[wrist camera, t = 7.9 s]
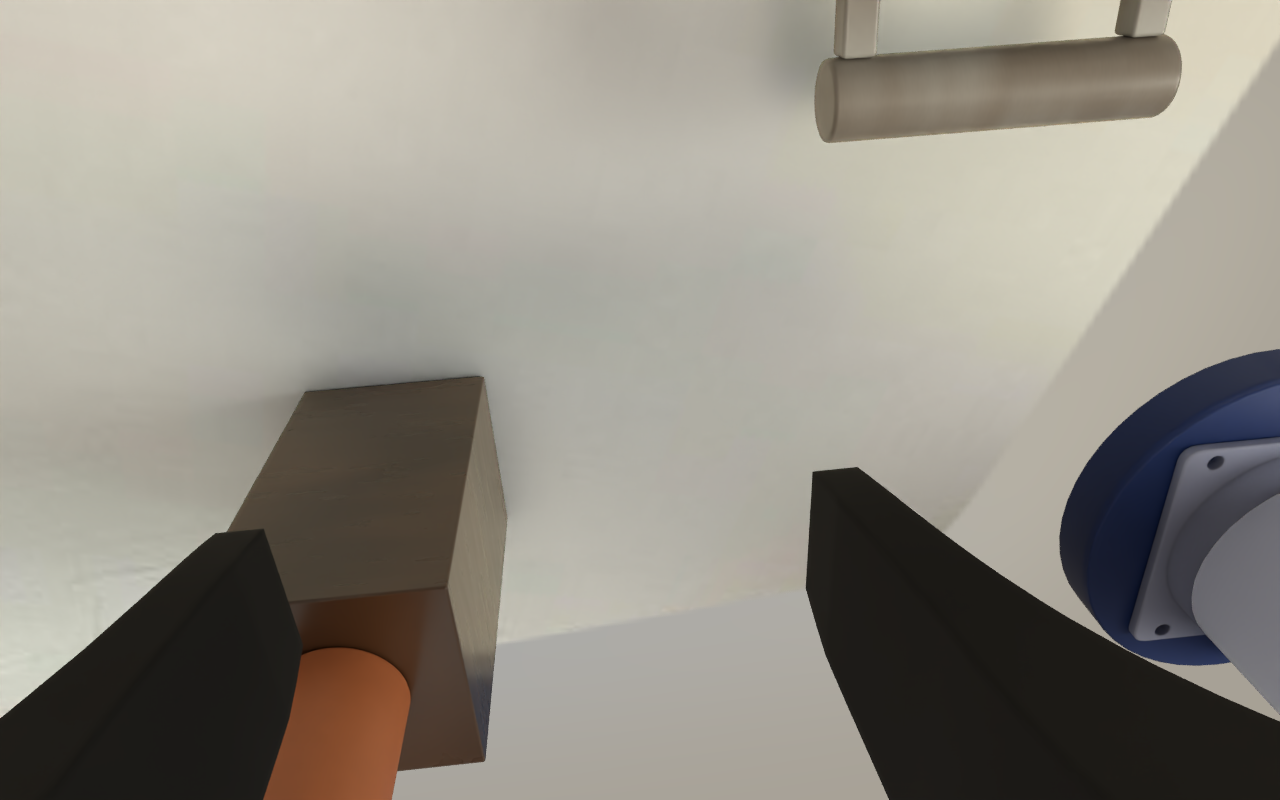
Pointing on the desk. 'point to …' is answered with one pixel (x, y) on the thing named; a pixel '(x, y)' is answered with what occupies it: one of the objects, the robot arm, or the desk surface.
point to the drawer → (993, 79)
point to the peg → (342, 729)
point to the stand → (395, 545)
